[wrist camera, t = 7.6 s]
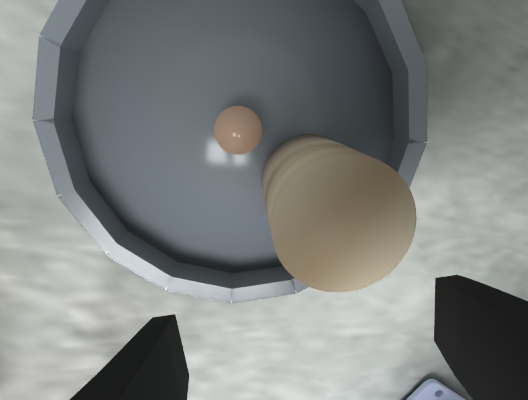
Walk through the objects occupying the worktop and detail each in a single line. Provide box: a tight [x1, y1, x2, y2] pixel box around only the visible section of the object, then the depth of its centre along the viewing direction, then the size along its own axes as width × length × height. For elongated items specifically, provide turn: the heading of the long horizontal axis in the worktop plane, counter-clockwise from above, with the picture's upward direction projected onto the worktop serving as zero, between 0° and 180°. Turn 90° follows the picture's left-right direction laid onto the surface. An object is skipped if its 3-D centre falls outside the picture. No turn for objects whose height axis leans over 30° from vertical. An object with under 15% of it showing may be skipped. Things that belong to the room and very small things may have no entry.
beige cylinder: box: [261, 134, 416, 292], centre depth 13 cm, size 4×4×6 cm
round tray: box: [33, 0, 427, 303], centre depth 15 cm, size 16×16×2 cm
